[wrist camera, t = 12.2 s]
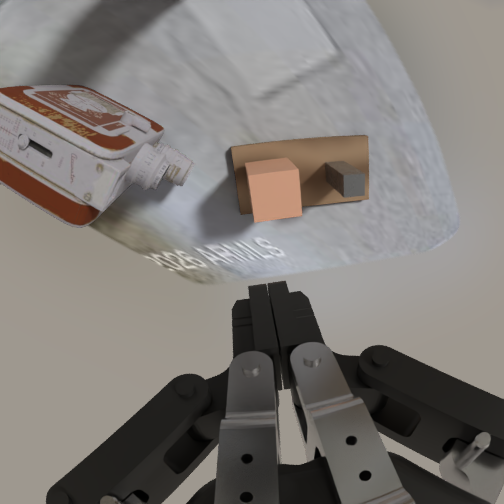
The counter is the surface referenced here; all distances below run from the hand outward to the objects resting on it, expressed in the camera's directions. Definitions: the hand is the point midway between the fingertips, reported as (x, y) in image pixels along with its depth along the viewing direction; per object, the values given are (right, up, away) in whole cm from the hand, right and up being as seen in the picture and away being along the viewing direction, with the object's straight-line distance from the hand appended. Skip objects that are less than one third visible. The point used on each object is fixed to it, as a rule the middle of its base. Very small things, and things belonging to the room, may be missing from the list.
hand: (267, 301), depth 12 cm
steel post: (+10, +13, +26) cm, 31 cm away
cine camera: (-17, +17, +23) cm, 33 cm away
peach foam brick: (+1, +11, +25) cm, 27 cm away
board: (+6, +12, +27) cm, 30 cm away
